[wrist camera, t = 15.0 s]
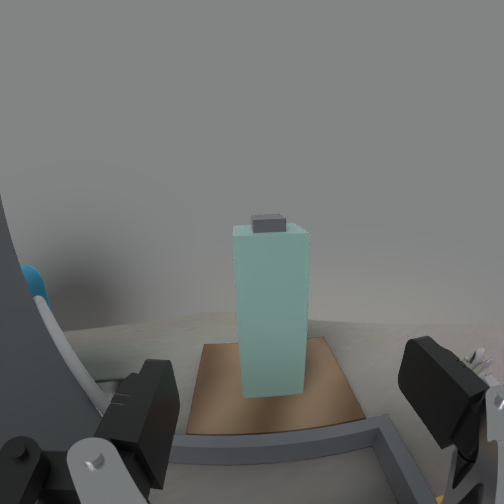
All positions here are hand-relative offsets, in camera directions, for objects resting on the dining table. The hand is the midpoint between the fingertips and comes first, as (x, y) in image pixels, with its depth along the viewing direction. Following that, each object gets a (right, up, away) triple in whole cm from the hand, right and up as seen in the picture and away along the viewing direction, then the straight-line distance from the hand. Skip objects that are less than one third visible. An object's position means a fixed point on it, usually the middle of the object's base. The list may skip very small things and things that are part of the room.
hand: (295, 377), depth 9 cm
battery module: (0, -6, +13) cm, 14 cm away
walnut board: (0, -7, +13) cm, 15 cm away
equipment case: (-4, -11, -2) cm, 12 cm away
